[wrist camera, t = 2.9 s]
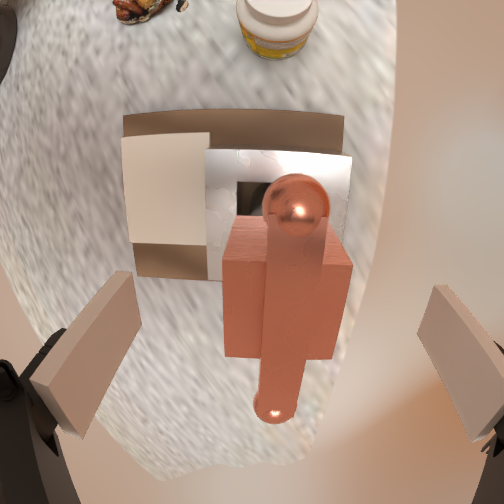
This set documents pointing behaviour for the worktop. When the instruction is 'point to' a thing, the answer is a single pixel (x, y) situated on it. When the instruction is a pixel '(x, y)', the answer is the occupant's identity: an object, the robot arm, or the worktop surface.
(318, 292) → the copper link bar
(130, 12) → the brown mottled lumpy part
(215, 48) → the worktop surface
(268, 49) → the supplement bottle
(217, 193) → the eye block
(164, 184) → the mat
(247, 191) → the board
